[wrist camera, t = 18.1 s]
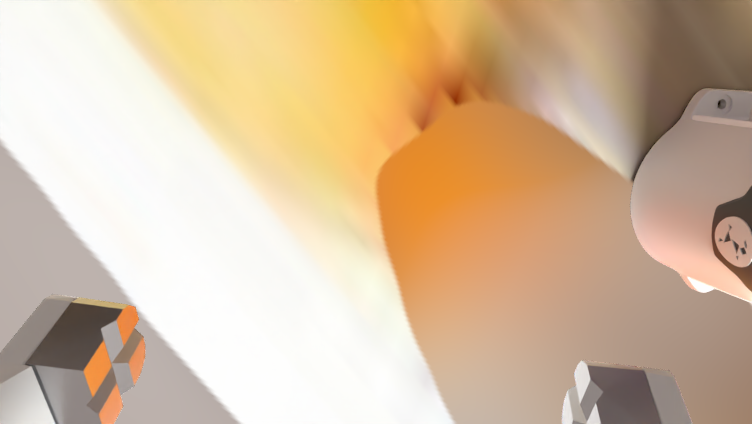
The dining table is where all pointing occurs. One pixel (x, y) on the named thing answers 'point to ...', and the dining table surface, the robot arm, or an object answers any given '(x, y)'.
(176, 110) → the dining table surface
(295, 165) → the dining table surface
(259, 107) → the dining table surface
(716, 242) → the robot arm
